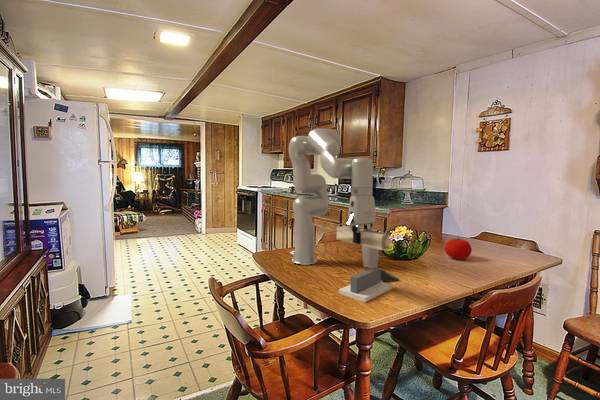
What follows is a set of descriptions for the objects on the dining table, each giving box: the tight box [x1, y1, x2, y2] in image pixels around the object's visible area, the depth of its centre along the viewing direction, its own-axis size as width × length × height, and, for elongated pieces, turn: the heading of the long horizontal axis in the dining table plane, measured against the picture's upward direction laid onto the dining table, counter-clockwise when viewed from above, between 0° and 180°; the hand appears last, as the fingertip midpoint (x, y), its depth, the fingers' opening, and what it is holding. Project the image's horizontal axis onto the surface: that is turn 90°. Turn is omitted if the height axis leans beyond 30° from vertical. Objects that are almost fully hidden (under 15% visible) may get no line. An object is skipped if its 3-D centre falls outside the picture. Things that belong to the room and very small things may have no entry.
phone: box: [364, 269, 400, 283], centre depth 134 cm, size 8×1×15 cm
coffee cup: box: [361, 245, 380, 269], centre depth 147 cm, size 10×10×15 cm
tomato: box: [444, 237, 473, 260], centre depth 161 cm, size 11×12×10 cm
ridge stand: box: [338, 266, 393, 303], centre depth 116 cm, size 11×18×7 cm, turn 135°
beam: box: [336, 225, 390, 251], centre depth 116 cm, size 4×22×5 cm, turn 36°
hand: (361, 241), depth 117 cm, fingers closed on beam, 4 cm apart
